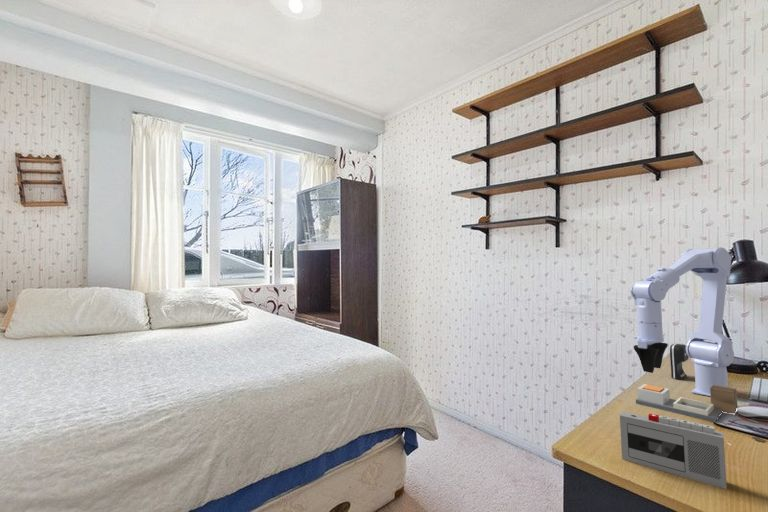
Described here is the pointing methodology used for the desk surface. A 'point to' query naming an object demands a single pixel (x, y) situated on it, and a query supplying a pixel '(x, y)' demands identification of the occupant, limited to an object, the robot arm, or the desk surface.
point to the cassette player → (674, 447)
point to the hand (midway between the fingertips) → (652, 369)
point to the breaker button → (653, 388)
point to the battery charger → (678, 360)
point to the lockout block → (724, 398)
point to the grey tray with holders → (677, 404)
